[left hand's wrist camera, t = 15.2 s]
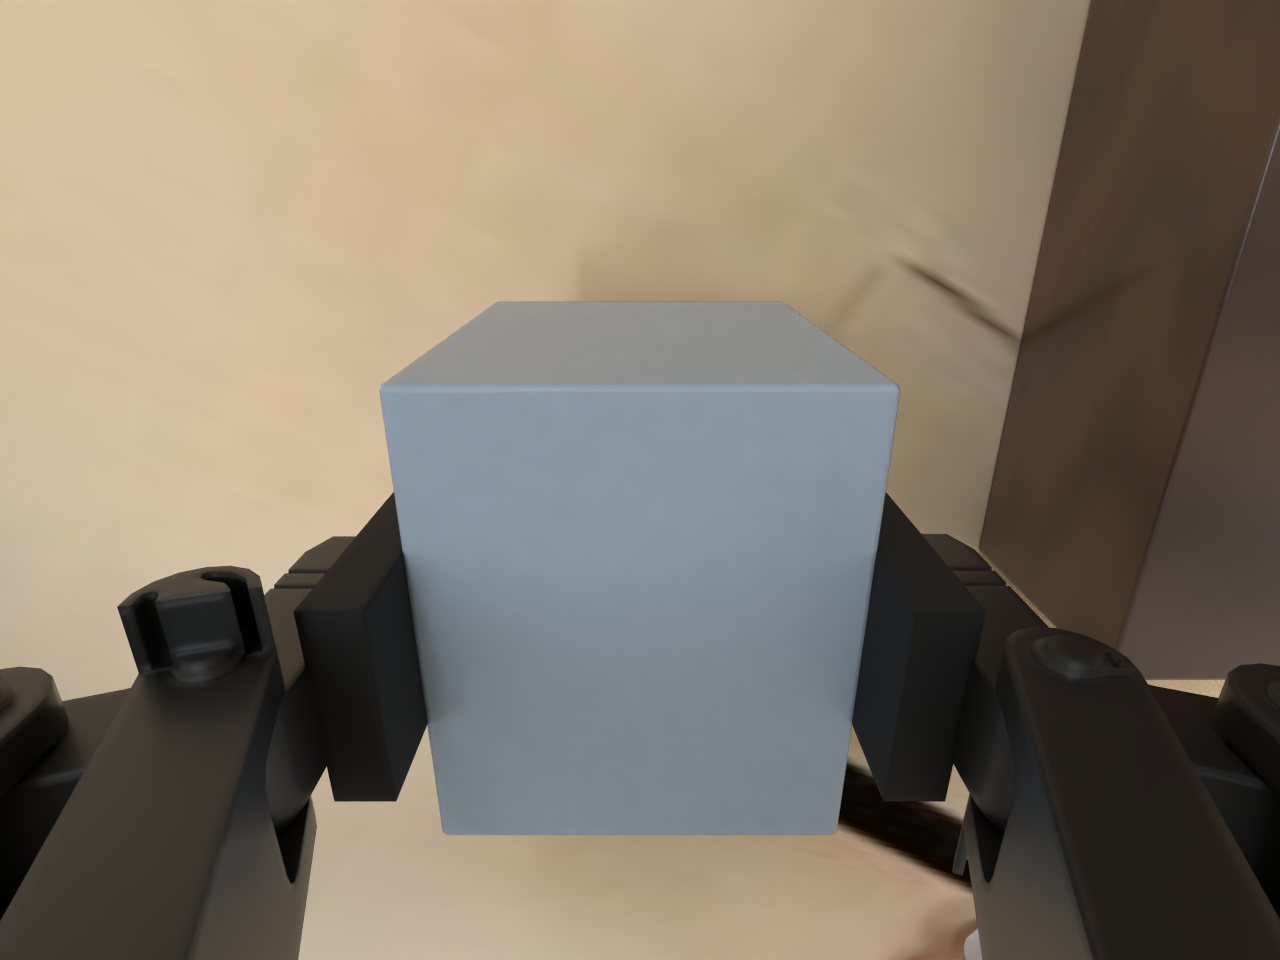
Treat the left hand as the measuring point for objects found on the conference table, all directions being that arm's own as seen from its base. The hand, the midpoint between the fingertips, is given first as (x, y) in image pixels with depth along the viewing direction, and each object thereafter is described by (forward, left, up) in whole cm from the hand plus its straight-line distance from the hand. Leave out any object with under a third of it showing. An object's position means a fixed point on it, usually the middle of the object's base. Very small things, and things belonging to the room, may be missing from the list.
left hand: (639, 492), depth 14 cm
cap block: (0, 0, -2) cm, 2 cm away
